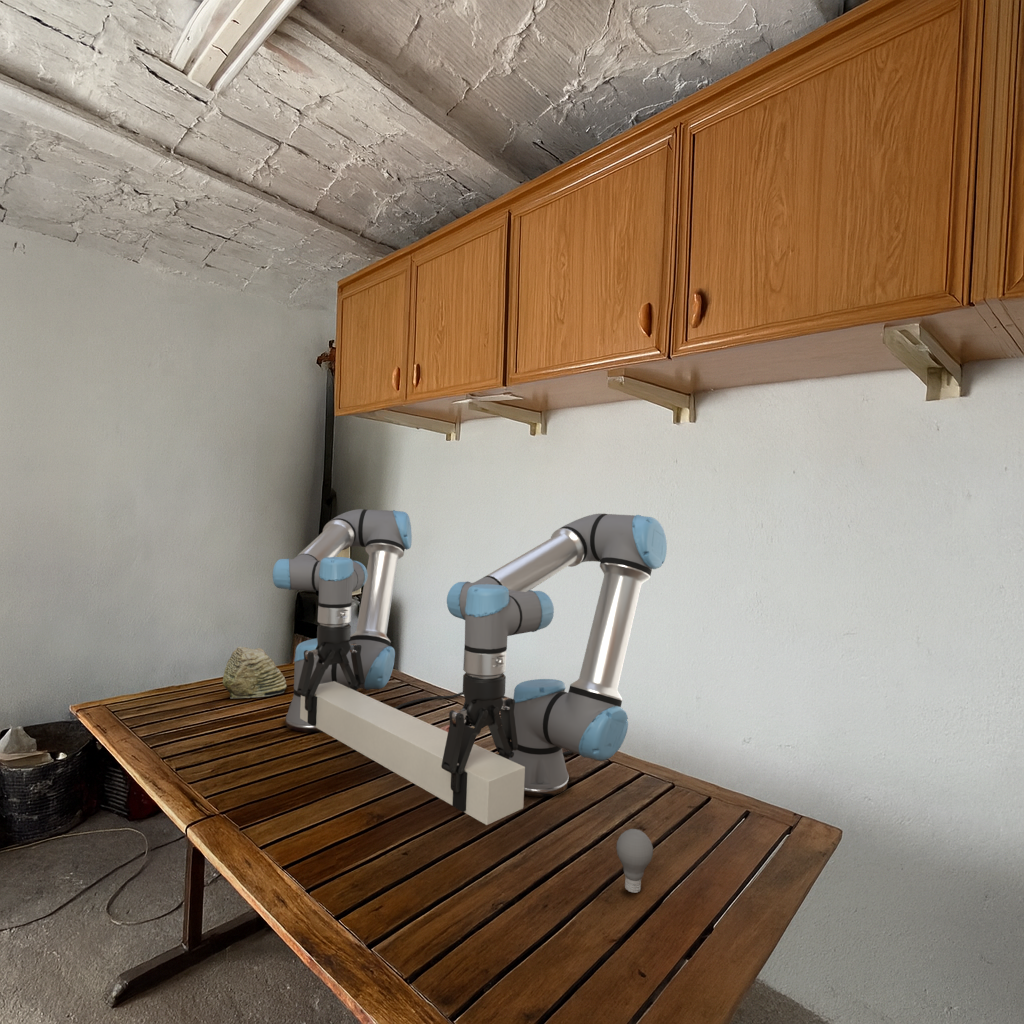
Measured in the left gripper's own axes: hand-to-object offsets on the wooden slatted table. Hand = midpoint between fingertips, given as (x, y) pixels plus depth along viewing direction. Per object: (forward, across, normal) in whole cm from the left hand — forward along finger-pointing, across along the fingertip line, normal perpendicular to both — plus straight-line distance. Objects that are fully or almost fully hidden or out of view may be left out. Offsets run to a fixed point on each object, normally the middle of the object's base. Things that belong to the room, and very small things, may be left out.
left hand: (330, 719), depth 148 cm
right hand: (0, 0, -52) cm, 52 cm away
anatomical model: (+11, +30, -4) cm, 32 cm away
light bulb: (+11, +14, -75) cm, 77 cm away
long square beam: (+1, 0, -26) cm, 26 cm away
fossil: (+11, +8, +62) cm, 63 cm away
